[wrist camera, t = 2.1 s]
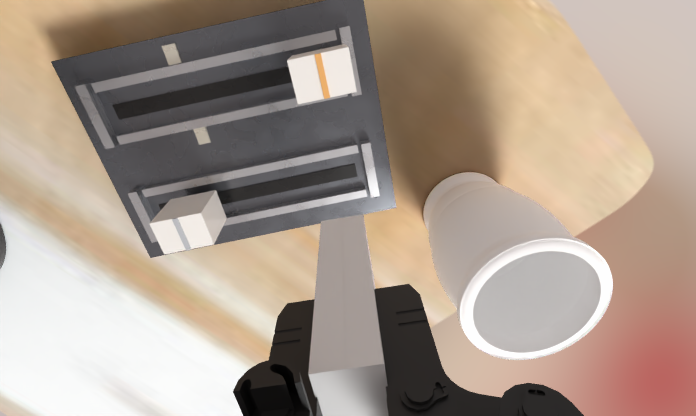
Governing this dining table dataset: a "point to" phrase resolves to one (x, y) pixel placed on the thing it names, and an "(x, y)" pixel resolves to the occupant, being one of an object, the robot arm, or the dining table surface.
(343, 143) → the dark grey slotted tray
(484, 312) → the jar
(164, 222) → the fader
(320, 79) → the fader
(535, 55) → the dining table surface
